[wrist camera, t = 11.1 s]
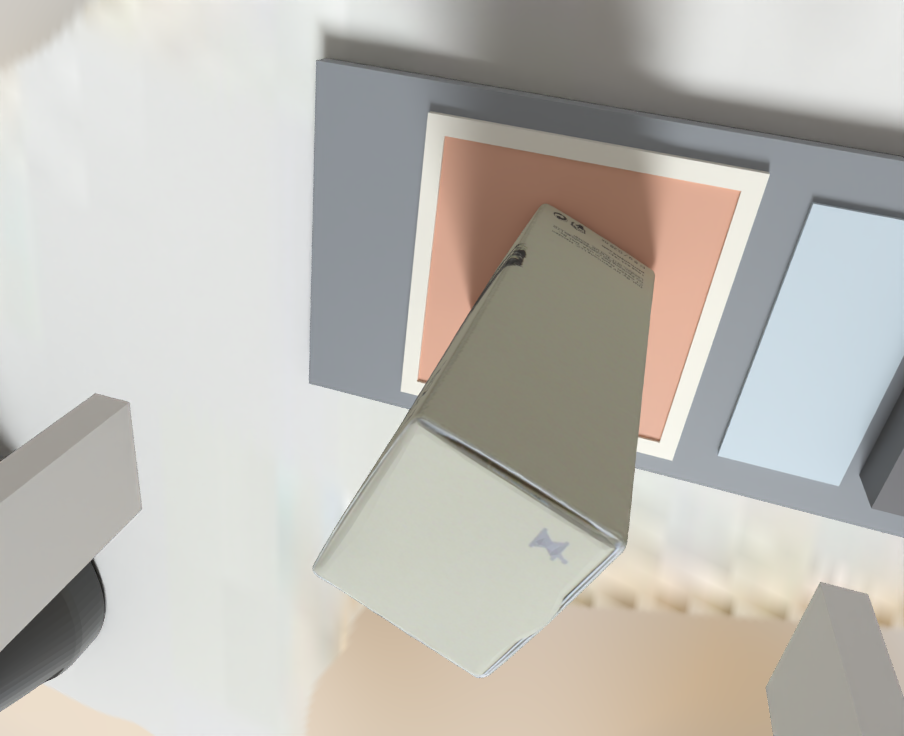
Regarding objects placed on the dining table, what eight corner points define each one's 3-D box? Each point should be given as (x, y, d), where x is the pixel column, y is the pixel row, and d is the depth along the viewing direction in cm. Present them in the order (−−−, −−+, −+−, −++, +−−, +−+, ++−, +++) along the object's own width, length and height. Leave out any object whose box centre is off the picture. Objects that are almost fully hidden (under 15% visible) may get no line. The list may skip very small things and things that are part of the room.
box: (544, 195, 22) (415, 395, 11) (661, 272, 23) (644, 543, 12) (463, 320, 25) (296, 576, 14) (567, 388, 25) (481, 695, 14)
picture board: (317, 373, 29) (288, 405, 27) (326, 58, 23) (289, 65, 21) (1146, 586, 24) (1194, 648, 22) (1434, 247, 18) (1539, 284, 16)
